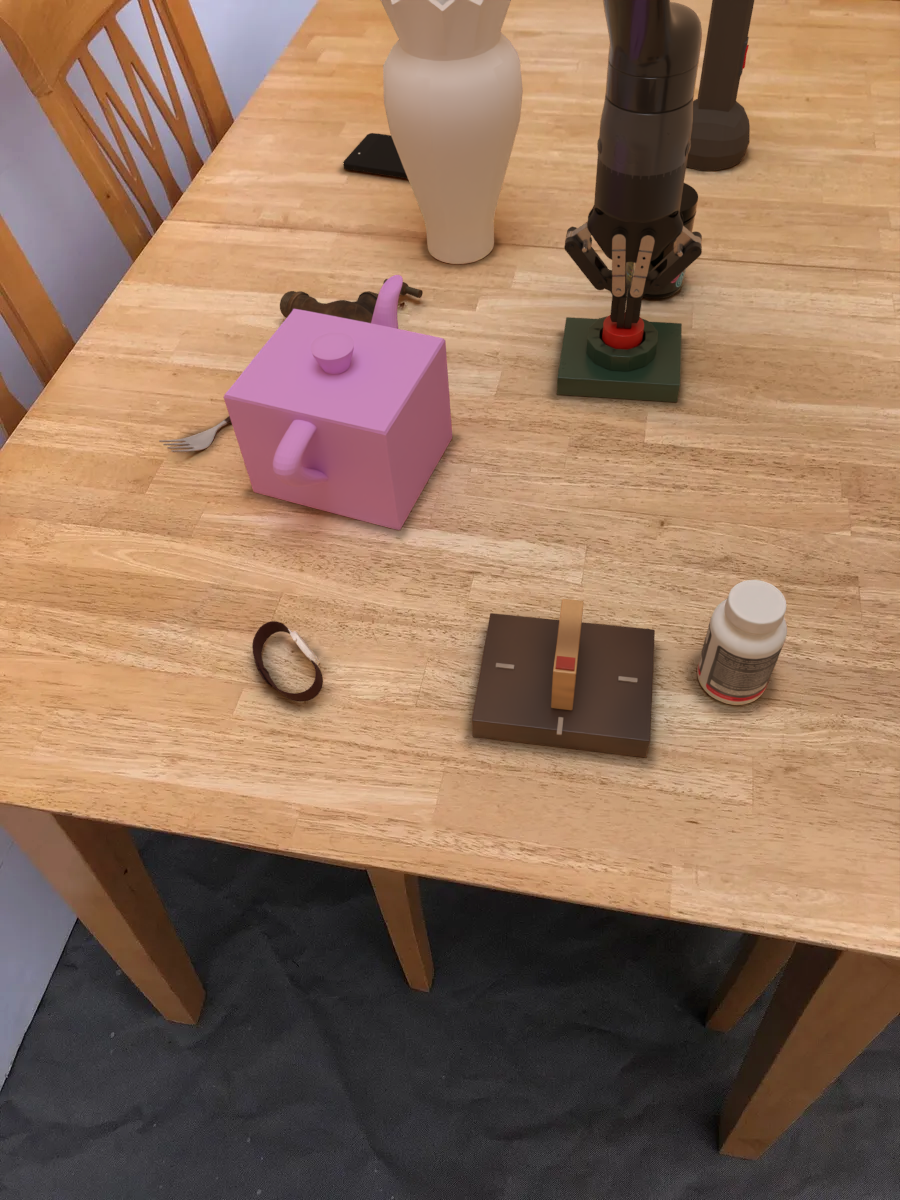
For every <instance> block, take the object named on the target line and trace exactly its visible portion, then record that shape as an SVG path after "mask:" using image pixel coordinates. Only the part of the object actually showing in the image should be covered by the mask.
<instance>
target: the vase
mask: <svg viewBox="0 0 900 1200" xmlns="http://www.w3.org/2000/svg"><path fill="white" fill-rule="evenodd" d="M380 2H381V5H382V7H383V9H384V11H385V13H386V15H387V18H388V19H389V21H390V23H391V25H392V28H393V30H394V33H395V34H396V36H397V38H398V39H397V41H396V42H395V43H394V44H393V45H392V47H391V49H390V51H389V53H388V54H387V57H386V59H384V63H383V65H382V69H383V70H382V75H383V76H382V78H383V79H382V81H383V82H382V83H383V84H382V85H383V86H382V87H383V88H382V89H383V105H384V110H385V115H386V121H387V126H388V130H389V135H391V137H392V139H393V142H394V144H395V147H396V149H397V152H398V154H399V157H400V160H401V162H402V165H403V167H404V170H405V172H406V175H407V177H408V179H407V180H408V182H409V186H410V188H411V190H412V193H413V195H414V198H415V200H416V203H417V206H418V208H419V210H420V213H421V215H422V218H423V222H424V225H425V232H426V245H427V251H428V253H429V255H430V256H432V257H433V258H434V259H436V260H438V261H440V262H442V263H446V264H451V265H465V264H466V265H467V264H472V263H475V262H478V261H480V260H482V259H483V258H485V257H486V256H488V255H489V254H490V253H491V252H492V251H493V249H494V245H495V215H496V210H497V207H498V203H499V200H500V196H501V193H502V189H503V184H504V181H505V177H506V173H507V170H508V166H509V164H510V163H509V162H510V159H511V156H512V152H513V147H514V144H515V141H516V137H517V133H518V129H519V126H520V122H521V114H522V102H523V94H524V89H523V88H524V87H523V77H522V66H521V58H520V55H519V52H518V50H517V49H516V47H515V46H514V45H513V43H512V41H511V39H509V38H508V37H507V36H506V35H505V34H503V33H502V32H501V31H502V28H503V25H504V22H505V20H506V17H507V14H508V11H509V7H510V5H511V2H512V0H380Z"/></svg>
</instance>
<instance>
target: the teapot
mask: <svg viewBox="0 0 900 1200" xmlns="http://www.w3.org/2000/svg"><path fill="white" fill-rule="evenodd" d="M387 279H388V280H387V281H386V282H385V283H384V282H383V283H384V284H383V283H382V286H381V287H380V289H379V292H378V294H379V295H378V298H377V301H376V305H375V309H374V313H373V317H372V321H371V323H367V322H361V321H356V320H351V319H346V318H341V317H336V316H331V315H326V314H320V313H315V312H310V311H305V310H299V309H293V310H292V312H291V313H290V314H289V316H288V317H287V318H286V317H285V319H284V320H283V322H282V323H280V325H279V327H278V328H277V329H276V330H275V331H274V333H273V334H272V335H271V336H270V337H269V339H268V340H267V341H266V342H265V343H264V345H263V346H262V347H261V349H260V350H259V351H258V352H257V353H256V355H255V356H254V357H253V358H252V359H251V361H250V362H249V363H248V364H247V366H246V367H245V369H244V370H243V371H242V372H241V374H240V375H239V376H238V378H237V379H236V380H235V381H234V382H233V384H232V385H231V386H230V388H228V390H227V391H226V392H225V393H224V395H223V400H224V404H225V406H226V409H227V414H228V417H229V416H230V419H231V422H230V423H231V425H232V429H233V432H234V435H235V438H236V441H237V444H238V447H239V451H240V454H241V457H242V460H243V463H244V467H245V469H246V474H247V476H248V479H249V481H250V486H251V488H252V491H253V493H255V494H260V495H263V496H266V497H271V498H274V499H278V500H283V501H286V502H290V503H293V504H297V505H302V506H305V507H308V508H312V509H317V510H319V511H323V512H328V513H331V514H335V515H339V516H342V517H346V518H350V519H354V520H358V521H361V522H365V523H368V524H369V523H370V524H373V525H377V526H379V527H384V528H385V527H386V528H389V529H392V530H396V531H401V530H402V527H403V526H404V524H405V522H406V521H407V519H408V517H409V515H410V513H411V512H412V510H413V508H414V506H415V505H416V503H417V501H418V499H419V497H420V495H421V494H422V492H423V491H424V489H425V487H426V485H427V484H428V482H429V480H430V478H431V476H432V475H433V473H434V471H435V469H436V468H437V466H438V464H439V462H440V460H441V459H442V457H443V456H444V454H445V452H446V450H447V448H448V447H449V445H450V443H451V441H452V440H453V425H452V412H451V397H450V384H449V383H450V382H449V371H448V370H449V369H448V357H447V356H448V355H447V344H446V343H447V342H446V339H445V338H443V337H439V336H435V335H430V334H425V333H420V332H416V331H410V330H406V329H401V328H399V322H398V321H399V319H398V305H399V298H400V296H401V295H400V291H401V288H402V284H403V282H404V279H403V276H402V275H400V274H394V275H392V276H390V277H389V278H387ZM399 295H400V296H399Z"/></svg>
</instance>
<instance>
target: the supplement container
mask: <svg viewBox="0 0 900 1200" xmlns="http://www.w3.org/2000/svg"><path fill="white" fill-rule="evenodd" d="M698 202H699V193H698V191H697V190H696V189H695V188H694V187H692V185H690V184H688V183H686V182H684V185H683V192H682V198H681V205H680V210H681V213H682V215H683V226H684V227H685V228H687V229H688V230H689V231H690V232H691V233H692V232H694V231H693V230H694V225H695V218H696V215H697V208H698ZM675 241H676V239H675V240H674V241H673V242H672V243H671V244H670V245H669V246H668V247H667V248H666V249H665V250H664V251H663V252H662V253H661V254H660V255H659V256H658V257H657V258H656V259H655V260H653V261H650V264H649V269H648V272H650V271H652V269H653V268H654V267H655V266H656V265H657V264H658V263H659V262H661V261H662V260H663V259H664V258H665V257H666V256H667V255H668V254H669V253H670V252H671V251H672V250H673V249H674V242H675ZM633 266H634V262H627V265H626V279H627V281H626V284H628V285H629V284H631V276H632V271H633ZM686 272H687V268H686V269H685V270H684V271H683V272H682V273H680V274H679V275H678V276H677V277H676V278H675V279H674V280H673V281H672V282H671V283H669V284H668V285H667V286H666V287H665V288H664V289H663V290H662V291H660V292H658V293H654V292H652V291H650V292H647V293H645V294H644V295H643V297H642V299H648V300H662V299H667V298H670V297H672V296H674V295H675V294H677V293H678V292H679V291H680V290H681V289H682V287H683V285H684V284H685V278H686Z"/></svg>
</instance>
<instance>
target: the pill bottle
mask: <svg viewBox="0 0 900 1200" xmlns="http://www.w3.org/2000/svg"><path fill="white" fill-rule="evenodd" d="M785 597H786V596H784V594H783V592H782V591H781V590H780V589H779V588H777V586H775V585H774V584H772V583H769V582H767V581H764V580H760V579H746V580H743V581H740V582H738V583H736V584H735V585H734V586H733V587H731V589H730V591H729V593H728V595H727V598H726V599H724V600H722V601H721V602H719V603H718V604H717V606H716V607H715V608H714V609H713V610H712V611H713V612H712V613H711V616H710V618H709V623H708V626H707V630H706V634H705V637H704V641H703V643H702V644H703V645H702V648H701V651H700V655H699V660H698V664H697V670H696V676H697V679H698V682H699V684H700V687H701V688H702V689H703V691H705V693H707V694H708V696H710V697H711V698H713V699H715V700H716V701H719V702H721V703H724V704H727V705H731V706H743V705H747V704H751V703H753V702H755V701H756V700H758V699H759V698H761V696H762V695H763V694H764V693H765V691H766V689H767V687H768V685H769V683H770V680H771V677H772V674H773V672H774V670H775V667H776V664H777V662H778V659H779V657H780V654H781V652H782V650H783V647H784V645H785V643H786V639H787V635H788V625H787V621H786V618H785V615H786V612H787V600H786V598H785Z"/></svg>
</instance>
